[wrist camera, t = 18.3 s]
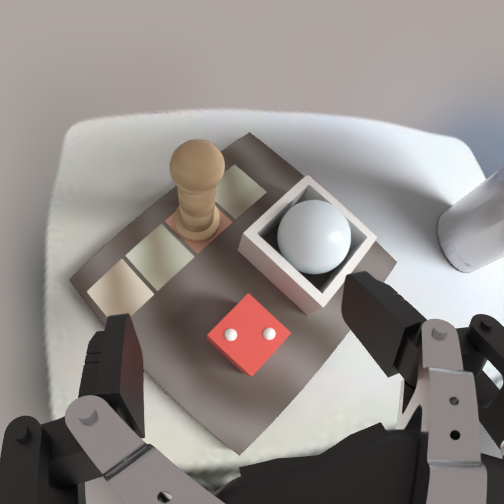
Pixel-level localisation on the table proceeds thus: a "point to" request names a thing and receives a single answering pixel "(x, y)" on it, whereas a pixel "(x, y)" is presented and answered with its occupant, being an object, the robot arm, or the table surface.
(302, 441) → the table surface
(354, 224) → the housing
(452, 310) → the table surface
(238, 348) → the die
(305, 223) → the white ball
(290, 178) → the board
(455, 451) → the robot arm
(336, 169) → the table surface
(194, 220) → the pawn
